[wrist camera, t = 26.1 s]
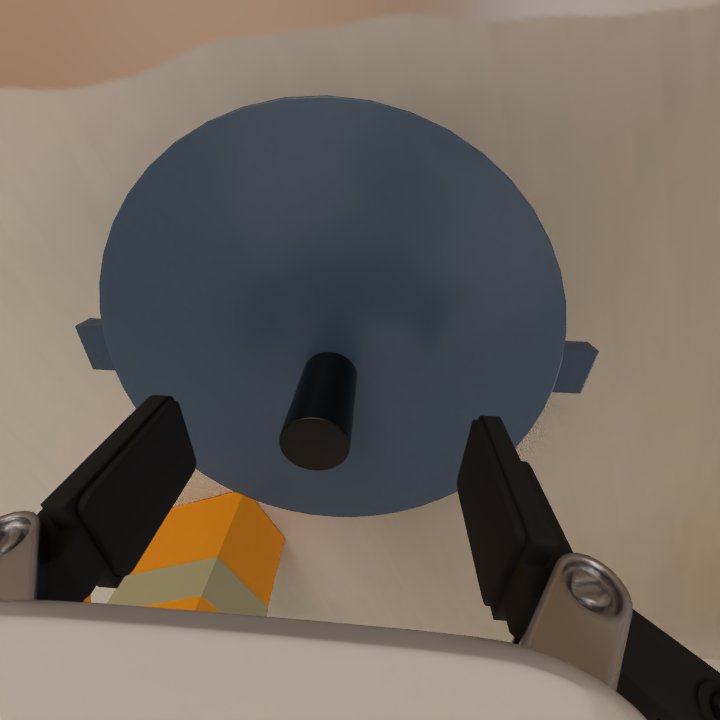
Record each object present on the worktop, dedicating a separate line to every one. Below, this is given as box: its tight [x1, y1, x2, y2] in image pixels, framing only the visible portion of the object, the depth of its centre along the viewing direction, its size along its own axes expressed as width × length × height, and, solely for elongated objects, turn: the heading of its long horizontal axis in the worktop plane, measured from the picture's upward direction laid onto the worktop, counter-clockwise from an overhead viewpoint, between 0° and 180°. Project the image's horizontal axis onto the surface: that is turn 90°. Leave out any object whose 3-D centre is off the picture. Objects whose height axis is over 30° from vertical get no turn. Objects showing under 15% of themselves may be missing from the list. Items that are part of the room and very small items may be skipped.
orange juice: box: [107, 492, 285, 617], centre depth 24 cm, size 8×9×20 cm
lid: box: [99, 95, 566, 517], centre depth 14 cm, size 20×20×6 cm
